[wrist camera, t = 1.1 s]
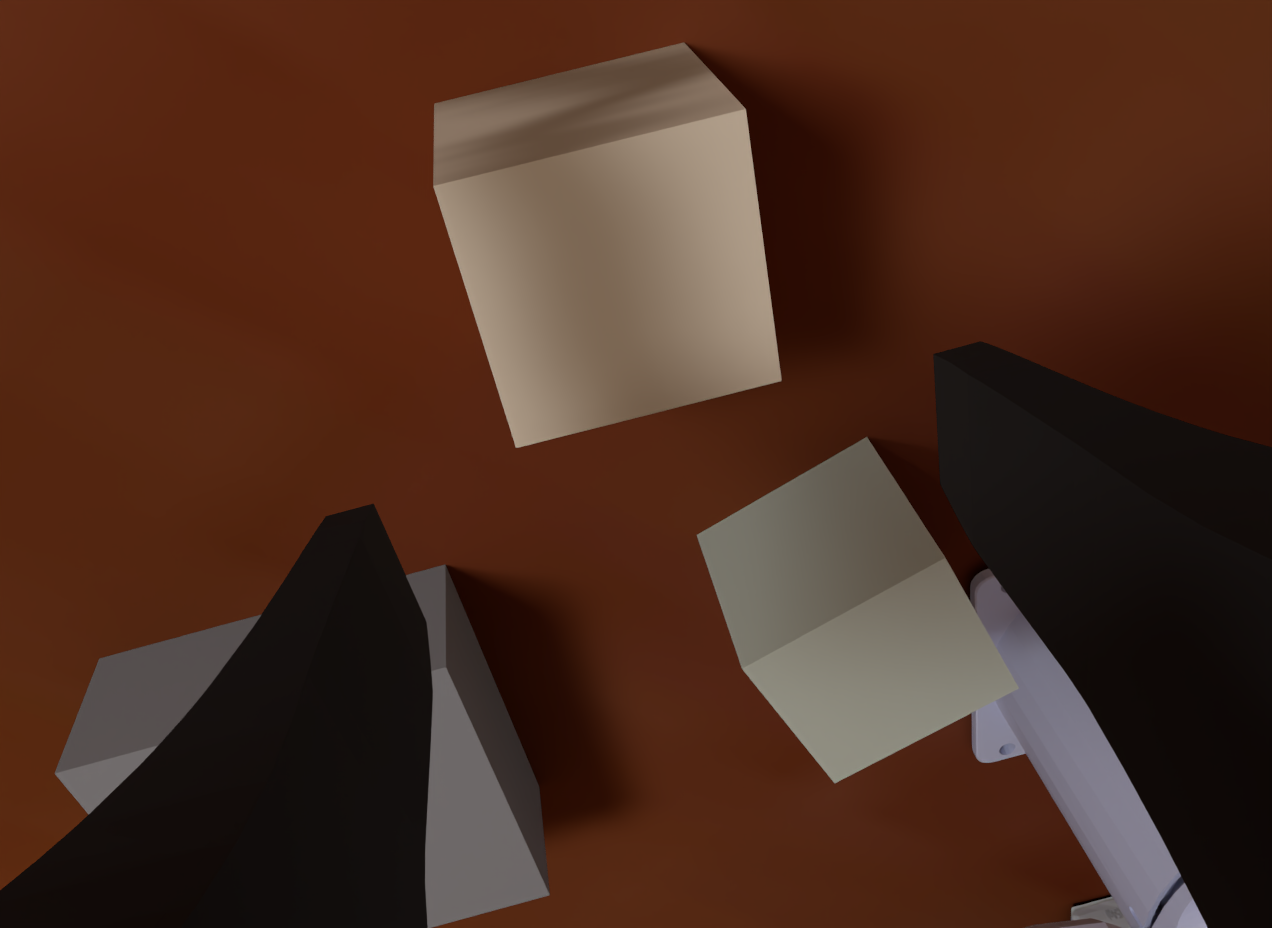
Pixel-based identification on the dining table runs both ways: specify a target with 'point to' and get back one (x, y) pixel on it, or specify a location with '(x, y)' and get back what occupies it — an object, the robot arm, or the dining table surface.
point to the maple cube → (608, 240)
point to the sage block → (850, 614)
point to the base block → (459, 757)
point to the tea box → (1100, 912)
